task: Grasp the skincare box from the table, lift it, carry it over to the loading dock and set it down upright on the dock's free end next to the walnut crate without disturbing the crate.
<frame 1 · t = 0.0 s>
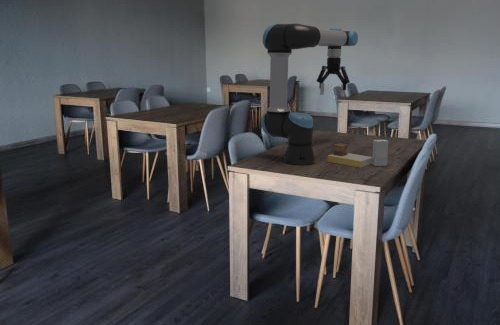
hand: (332, 95, 262), 28 cm above the table, fingers open, 13 cm apart
skincare box: (379, 165, 218), on the table
dock: (350, 162, 223), on the table
crate: (340, 154, 226), point 3 cm above the table, touching dock
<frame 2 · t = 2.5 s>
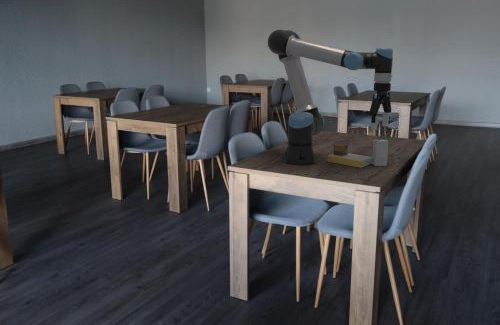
hand: (379, 128, 217), 17 cm above the table, fingers open, 13 cm apart
nothing on the table moved.
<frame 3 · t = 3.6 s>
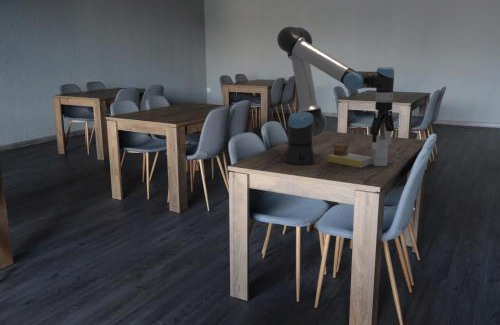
hand: (381, 146, 216), 9 cm above the table, fingers open, 13 cm apart
nothing on the table moved.
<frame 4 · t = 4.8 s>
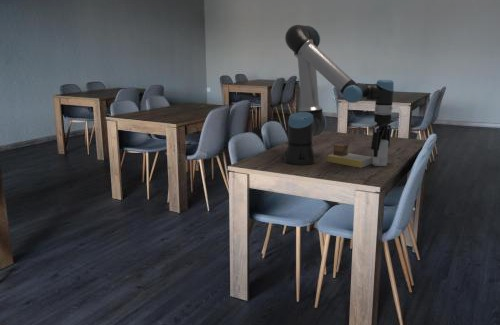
hand: (379, 161, 218), 2 cm above the table, fingers closed on skincare box, 7 cm apart
skincare box: (379, 165, 218), on the table, touching gripper
everything else where it was.
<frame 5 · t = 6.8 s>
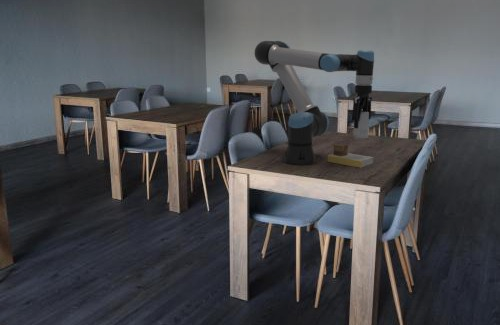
hand: (360, 133, 217), 15 cm above the table, fingers closed on skincare box, 7 cm apart
skincare box: (360, 138, 217), point 13 cm above the table, touching gripper
everything else where it was.
when the fingers open (6 cm above the table, at t = 8.7 s): skincare box drops 1 cm, resting on dock.
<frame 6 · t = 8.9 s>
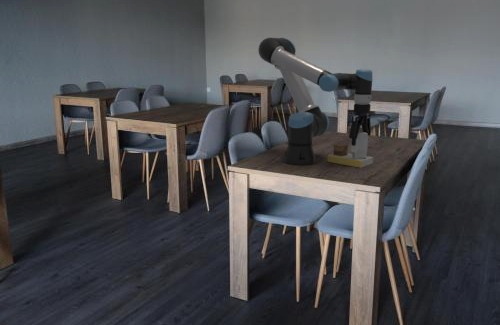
hand: (359, 150, 219), 7 cm above the table, fingers open, 9 cm apart
skincare box: (358, 158, 220), point 3 cm above the table, touching dock
everything else where it was.
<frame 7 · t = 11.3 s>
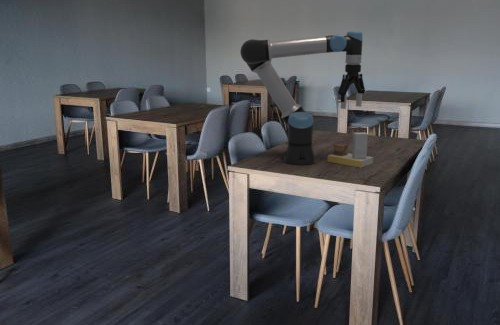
hand: (351, 107, 230), 25 cm above the table, fingers open, 13 cm apart
nothing on the table moved.
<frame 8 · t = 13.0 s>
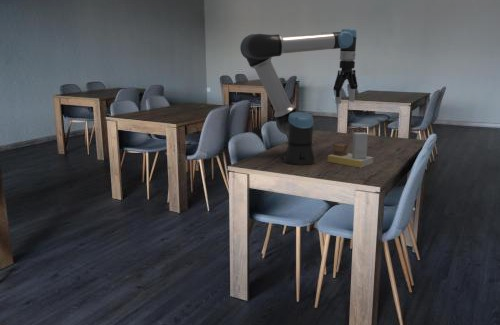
hand: (345, 102, 238), 27 cm above the table, fingers open, 13 cm apart
nothing on the table moved.
at the end: skincare box inside the target area on the dock (0.3 cm from its centre), point 2.8 cm above the dock's base; skincare box tilted 0°; crate inside the target area on the dock (0.8 cm from its centre), point 3.0 cm above the dock's base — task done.
